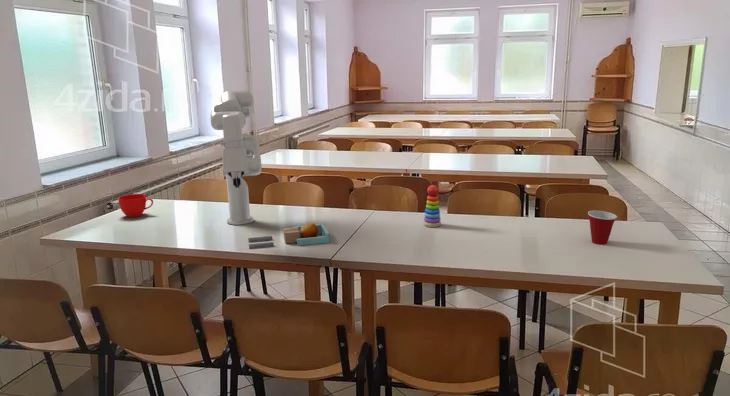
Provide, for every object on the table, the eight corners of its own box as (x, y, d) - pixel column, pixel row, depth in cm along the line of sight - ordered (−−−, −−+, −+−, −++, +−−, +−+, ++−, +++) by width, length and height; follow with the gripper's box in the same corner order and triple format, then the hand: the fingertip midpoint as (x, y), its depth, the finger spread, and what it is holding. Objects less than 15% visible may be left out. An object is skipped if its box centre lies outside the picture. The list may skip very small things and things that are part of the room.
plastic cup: (612, 248, 208) (615, 218, 205) (583, 244, 214) (585, 215, 211) (616, 240, 217) (619, 211, 214) (588, 236, 223) (590, 208, 220)
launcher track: (248, 241, 229) (248, 238, 229) (272, 239, 231) (272, 235, 231) (249, 248, 220) (248, 245, 219) (273, 246, 222) (273, 242, 222)
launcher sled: (284, 238, 231) (283, 228, 230) (299, 236, 232) (298, 227, 231) (285, 243, 224) (284, 233, 223) (301, 241, 226) (300, 231, 225)
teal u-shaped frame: (293, 235, 236) (293, 226, 235) (323, 232, 238) (323, 224, 237) (297, 245, 222) (296, 236, 221) (329, 242, 225) (328, 233, 224)
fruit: (321, 238, 226) (311, 222, 225) (306, 247, 227) (295, 232, 226) (323, 232, 234) (313, 217, 232) (308, 241, 235) (298, 226, 234)
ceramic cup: (149, 218, 270) (147, 199, 267) (116, 219, 270) (113, 200, 268) (159, 212, 282) (157, 193, 280) (127, 212, 283) (125, 194, 280)
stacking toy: (421, 226, 243) (421, 186, 239) (426, 222, 250) (426, 182, 246) (438, 228, 240) (438, 187, 236) (442, 223, 247) (443, 183, 243)
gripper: (215, 146, 217) (219, 190, 222) (252, 144, 221) (255, 187, 226) (214, 143, 224) (218, 186, 229) (251, 141, 228) (254, 183, 233)
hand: (237, 187), depth 227 cm, fingers closed
